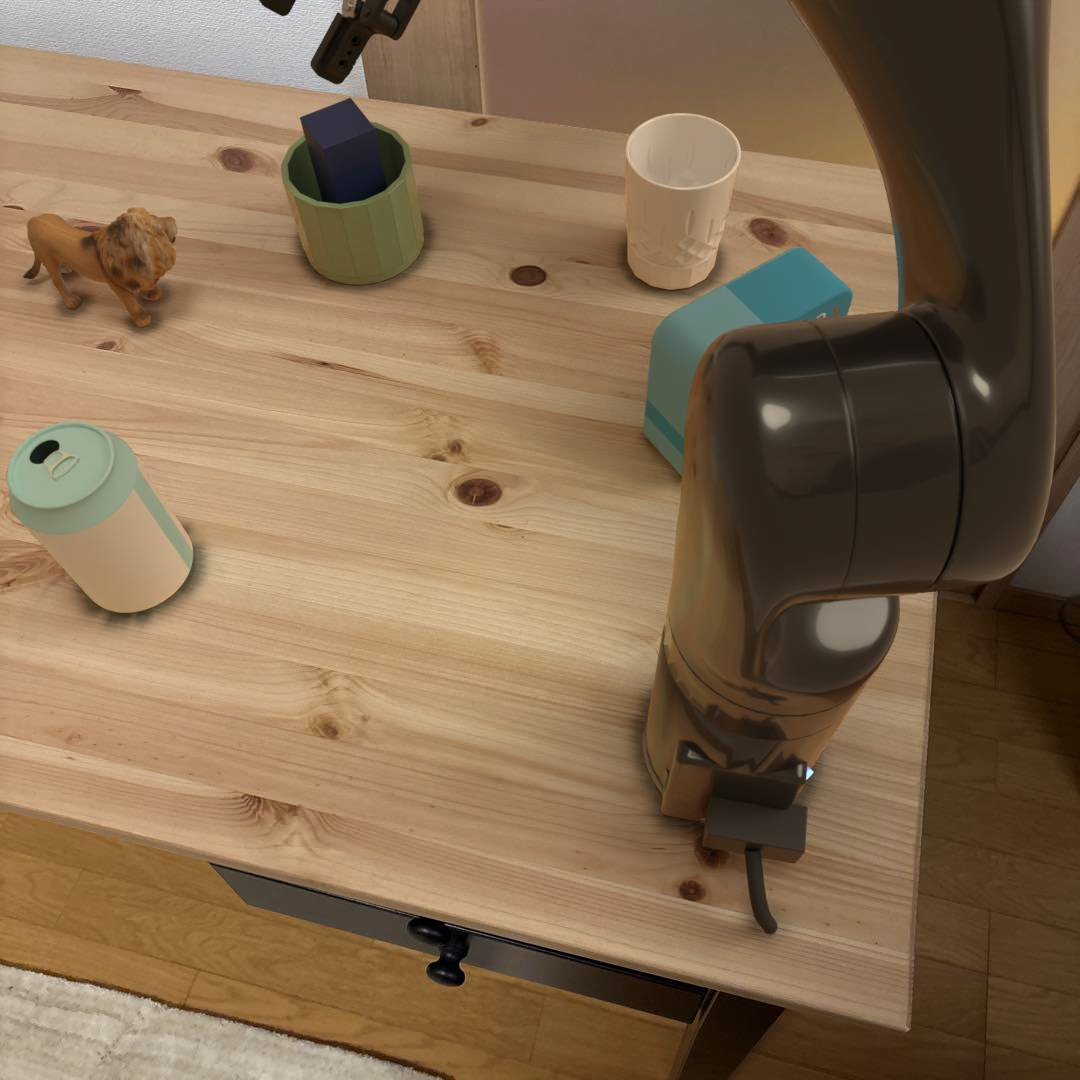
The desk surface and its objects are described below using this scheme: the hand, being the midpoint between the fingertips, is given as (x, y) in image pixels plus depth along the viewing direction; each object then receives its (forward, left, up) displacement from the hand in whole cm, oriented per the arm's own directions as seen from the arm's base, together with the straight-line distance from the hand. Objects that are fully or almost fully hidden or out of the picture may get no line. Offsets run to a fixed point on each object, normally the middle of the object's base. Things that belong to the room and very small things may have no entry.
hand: (296, 42), depth 64 cm
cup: (+1, -1, -17) cm, 17 cm away
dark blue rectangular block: (+1, -1, -17) cm, 17 cm away
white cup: (+3, -25, -18) cm, 31 cm away
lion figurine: (-8, +16, -18) cm, 25 cm away
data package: (-12, -31, -18) cm, 38 cm away
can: (-30, +5, -18) cm, 35 cm away
